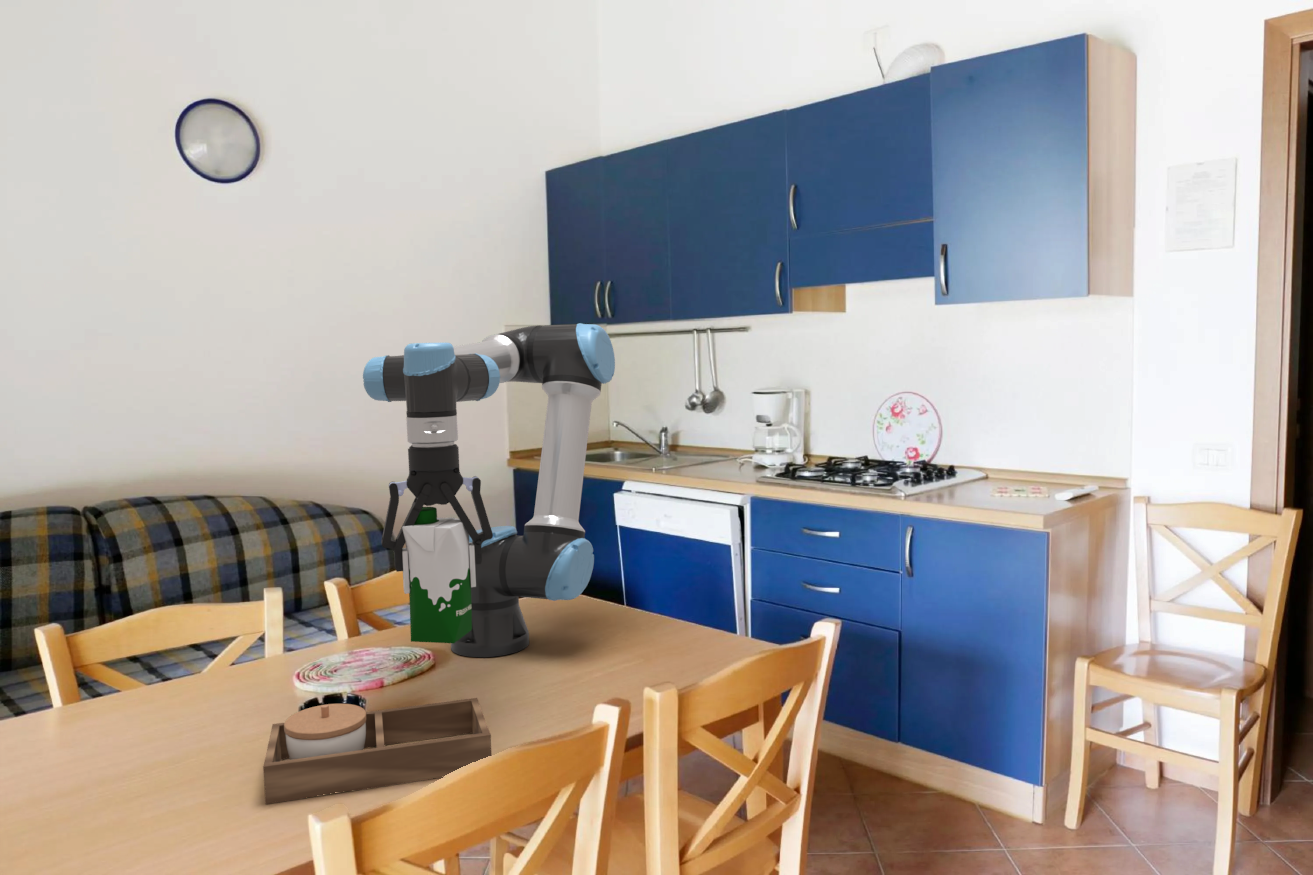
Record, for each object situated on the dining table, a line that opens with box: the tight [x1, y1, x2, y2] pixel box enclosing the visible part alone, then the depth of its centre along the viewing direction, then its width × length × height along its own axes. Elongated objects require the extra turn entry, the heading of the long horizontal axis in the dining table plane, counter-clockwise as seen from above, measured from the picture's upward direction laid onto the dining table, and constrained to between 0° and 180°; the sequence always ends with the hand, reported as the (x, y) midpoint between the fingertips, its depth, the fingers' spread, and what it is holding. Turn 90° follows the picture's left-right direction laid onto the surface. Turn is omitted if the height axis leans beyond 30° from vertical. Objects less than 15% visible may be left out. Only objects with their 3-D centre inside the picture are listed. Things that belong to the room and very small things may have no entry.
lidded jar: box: [283, 703, 367, 760], centre depth 132 cm, size 11×11×9 cm
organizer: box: [262, 697, 492, 805], centre depth 134 cm, size 15×29×5 cm, turn 108°
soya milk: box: [401, 506, 472, 644], centre depth 148 cm, size 9×9×20 cm
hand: (439, 588), depth 148 cm, fingers closed on soya milk, 9 cm apart
